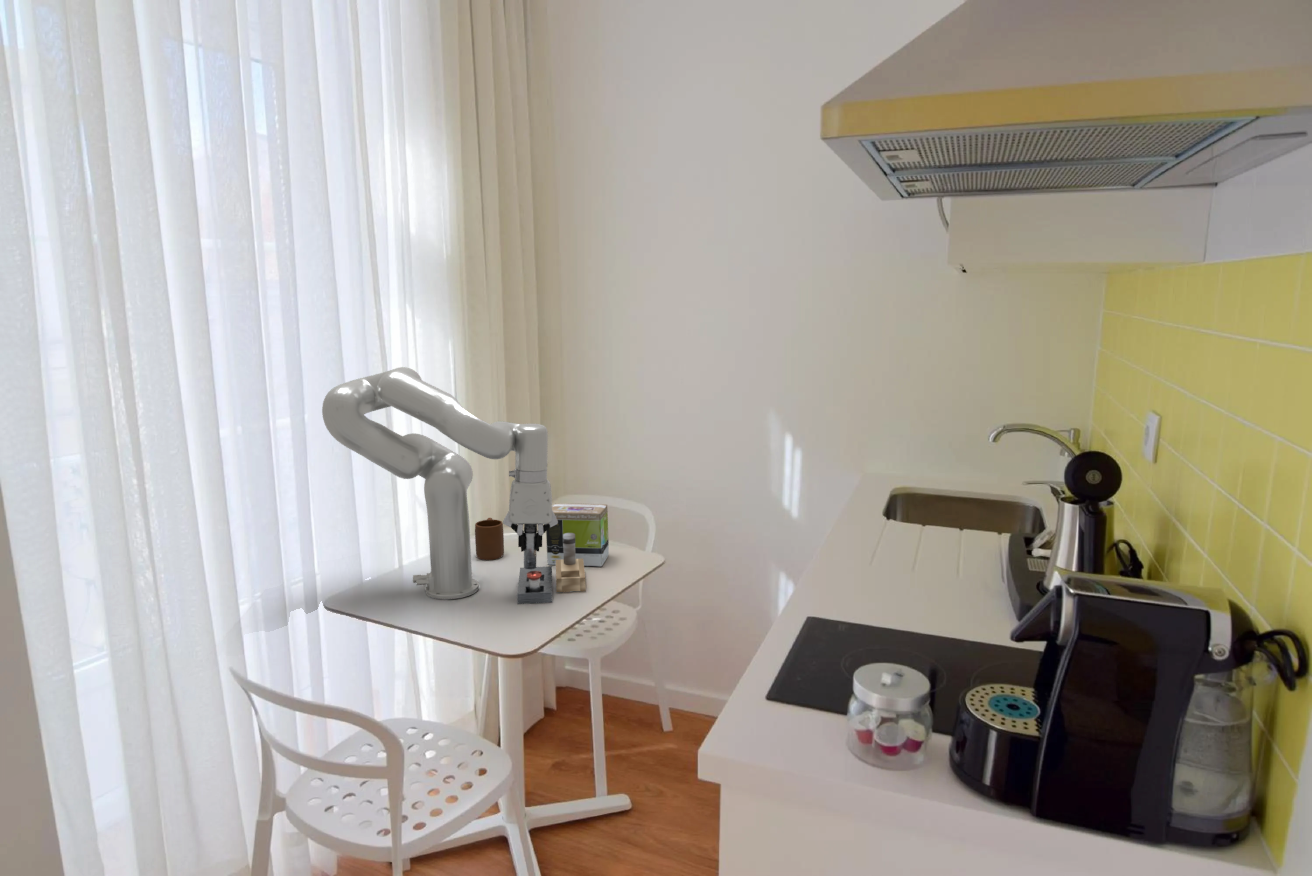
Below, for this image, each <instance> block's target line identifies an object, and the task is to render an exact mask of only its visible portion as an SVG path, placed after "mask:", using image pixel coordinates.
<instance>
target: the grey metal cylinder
mask: <svg viewBox="0 0 1312 876" xmlns="http://www.w3.org/2000/svg"><path fill="white" fill-rule="evenodd" d="M523 531H524V551H523V568H525V569H535V568H536V567H537V551H536V535H537V531H538V524H523Z"/></svg>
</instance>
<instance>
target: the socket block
mask: <svg viewBox="0 0 1312 876" xmlns="http://www.w3.org/2000/svg"><path fill="white" fill-rule="evenodd" d="M530 571H540V572H541V573H542V577H541V578H540V592H534V593H529V579H528V578H527V573H528V572H530ZM517 583H518V584H517V591H516V599H517V601H516V604H517V605H529V604H550V603H553V565H550V566H547V565H546V566H536V568H535V569H525V568H524V567H519V574H518V582H517Z"/></svg>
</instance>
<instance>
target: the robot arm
mask: <svg viewBox="0 0 1312 876" xmlns="http://www.w3.org/2000/svg"><path fill="white" fill-rule="evenodd" d="M391 407H392V408H394V409H396V410H398V411H401V412H402V413H405V414H407V415H409V416H411V417H412V418H415V419H416V420H419V421H421V422H423V423H425V424H427V425H429V426H430V427H433V428H435V429H437V430H438V431H439V432H440V433H441V434H442V435H444V436H446V437H448V439H449V440H452V441H453V442H454V443H456V444H458V445H459V446H461V447H463V448H465V449H467V450H469V451H471V452H473V453H475V454H478V455H480V456H482V457H484V458H487V459H489V460H501V459H504V458H505V457H507V456H508V455H509V454H510V452H514V453H515V456H514V458H515V459H514V460H515V462H514V465H515V466H514V467H515V468H514V469H513V470H509V471H508V477H512V478H513V479H514V480H512V481H511V485H510V491H509V502H508V504H509V505H508V511H507V513H506V515H505V517H504V518H503V520H502V523H503V525H504V526H507V527H509V528H511V530H513V531H514V533H516V535H517V538H518V539H517V540H518V541H517V542H518V548H520V552H523V553H524V524H537V535H536V552H540V548H542V547H543V535H544V534H546V531H547V530H548V529H549V528H550V527H552V526H554V525H556V524H558V520H557V518H556V516H555V514H554V512H553V511H552V506H553V497H552V496H553V495H552V486H551V482H550V480H549V479H548V445H549V444H548V443H549V442H548V439H549V438H548V437H549V435H548V434H549V433H548V432H549V431H548V428H547V426H545V425H544V424H539V423H515V422H510V421H509V422H508V421H503V420H502V421H501V420H500V421H499V420H498V421H494V422H492V423H489V422H487V421H484V420H483V419H480V418H479V417H477V416H475V415H474V414H472V413H470V412H469V411H468V410H466V409H465V407H463V406H462V404H461V403H460V402H459V400H458V399H457V398H456V396H455V397H454V395H452V394H450V393H449V392H446V391H445V390H443V389H440V388H438V387H436V386H434V385H432V384H431V383H428V382H426V381H424V380H423V379H422V377H421V376H420V374H419V373H418V372H417V371H415V370H414V369H412V368H410V367H407V366H405V367H403V366H400V367H396V368H393V369H390V370H387V371H383V372H380V373H375V374H373V375H368V376H363V377H360V378H357V379H356V378H355V379H353V380H349V381H347V382H343V383H341V384H337V385H336V386H334V387H333V388H331V389H330V390H329V391H328V392H327V393H326V394H325V396H324V400H323V401H322V409H321V413H322V419H323V422H324V425H325V427H326V429H327V431H328V433H329V434H330V435H331V436H332V438H334V439H335V440H336V441H337V442H338V443H339V444H341V445H343V446H344V447H346V448H347V449H349V450H351V451H352V452H354V453H356V454H358V455H359V456H362V457H363V458H365V459H366V460H368V461H369V462H372V463H373V464H374V465H377V466H378V467H381V468H382V469H384V470H385V471H387V472H389V473H391V475H394V476H396V477H398V478H400V479H403V480H411V479H414V478H416V477H418V476H419V477H421V478H423V479H424V485H423V492H424V494H423V495H424V498H425V500H424V501H425V505H426V511H427V512H426V513H427V526H428V538H429V539H428V540H429V541H428V542H429V543H428V544H429V554H430V555H429V558H430V572H427V573H426V574H414V575H412V583H413V584H416V586H425V585H426V586H425V589H424V590H425V594H426V596H428V597H430V598H432V599H436V600H455V599H462V598H466V597H469V596H471V595H473V594H475V593H476V592H478V590H479V589H480V583H479V581H478V580H477V579H475V578H473V570H472V552H471V550H472V549H471V534H470V533H471V530H470V529H471V528H470V527H471V526H470V513H469V512H470V511H469V503H468V488H469V487H470V485H471V483H472V481H473V476H474V474H473V472H474V471H473V469H472V465H471V463H469V461H468V460H467V459H466V458H465V457H463V456H462V455H460V454H458V453H457V452H455V451H453V450H452V449H449V448H447V447H446V446H445V445H442V443H441V444H440V443H439V442H437V441H435V440H434V439H432V438H430V437H429V436H426V435H423V434H420V433H414V432H413V433H406V434H405V435H402V434H398V433H397V432H395V431H394V430H392V429H390V428H389V427H387V426H385V425H383V424H381V423H379V422H377V421H374V420H372V419H370V418H368V417H367V416H366V414H368V413H372V412H375V411H378V410H382V409H386V408H391Z"/></svg>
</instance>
